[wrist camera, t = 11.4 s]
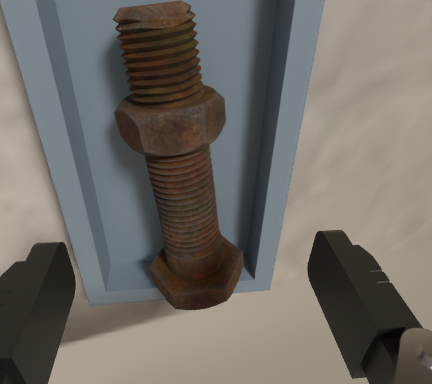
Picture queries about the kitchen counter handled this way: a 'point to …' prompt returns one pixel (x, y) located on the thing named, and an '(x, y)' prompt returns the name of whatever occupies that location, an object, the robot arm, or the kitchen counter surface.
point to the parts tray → (135, 162)
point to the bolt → (177, 151)
